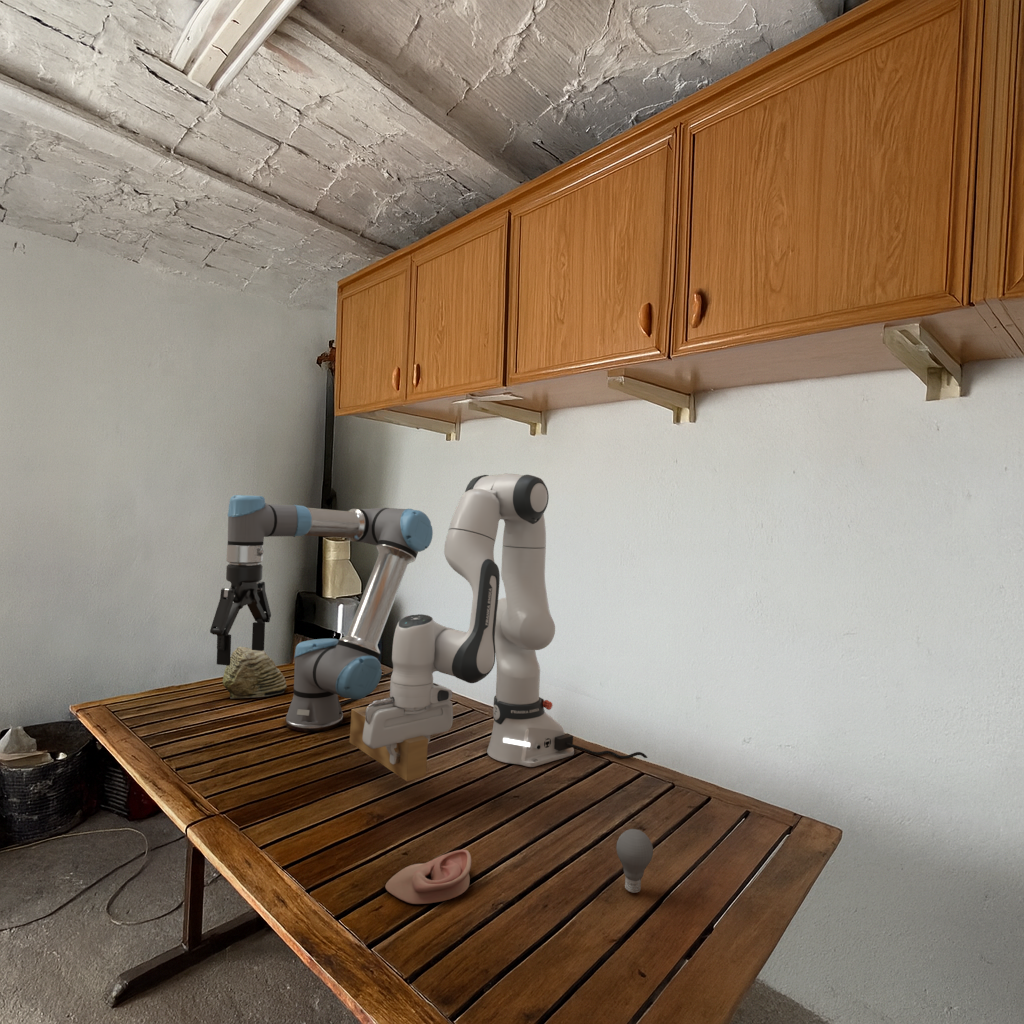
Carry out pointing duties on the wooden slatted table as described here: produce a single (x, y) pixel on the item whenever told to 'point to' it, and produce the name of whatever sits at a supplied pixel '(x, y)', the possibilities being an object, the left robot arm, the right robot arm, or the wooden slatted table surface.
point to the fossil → (252, 675)
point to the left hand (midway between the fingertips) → (241, 657)
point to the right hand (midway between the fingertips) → (407, 759)
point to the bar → (409, 749)
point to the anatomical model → (432, 879)
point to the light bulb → (634, 857)
